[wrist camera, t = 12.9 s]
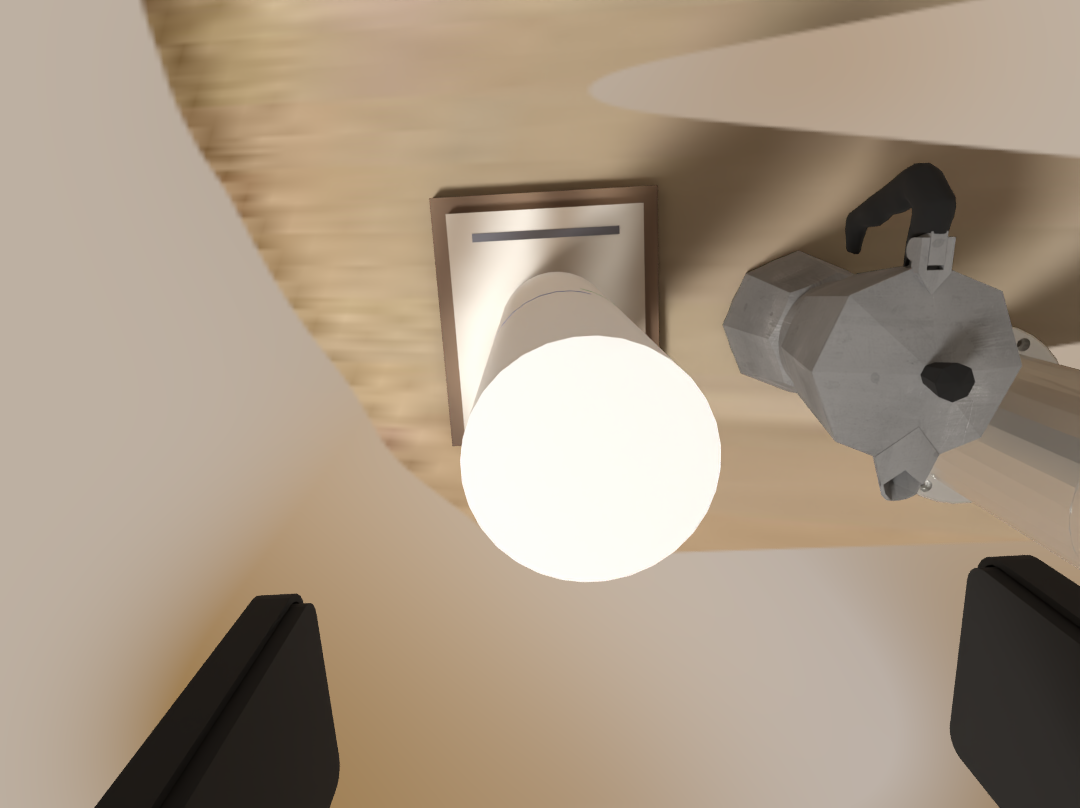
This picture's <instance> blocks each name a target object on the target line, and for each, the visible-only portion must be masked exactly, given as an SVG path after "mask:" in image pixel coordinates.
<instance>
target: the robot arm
mask: <svg viewBox="0 0 1080 808" xmlns="http://www.w3.org/2000/svg"><path fill="white" fill-rule="evenodd" d="M1012 329H1013V333H1014V337H1015V340H1016V344H1017V348H1018V352H1019V356H1020V359H1021V363H1022V367H1021V369H1020V370H1019V372H1018V374H1017V376H1016V377H1015V379H1014V381H1013V383H1012V384H1011V386H1010V388H1009V389H1008V391H1007V393H1006V395H1005V396H1004V398H1003V400H1002V402H1001V403H1000V405H999V407H998V409H997V410H996V412H995V414H994V416H993V417H992V419H991V421H990V423H989V424H988V426H987V428H986V430H985V431H984V433H983V435H982V437H981V438H979V439H976V440H974V441H971V442H969V443H966V444H964V445H961V446H959V447H956V448H954V449H951V450H949V451H947V452H944V453H942V454H939V456H938V458H937V460H936V462H935V464H934V466H933V468H932V470H931V471H930V473H929V475H928V477H927V479H926V481H925V483H924V484H923V485H922V484H921V486H920V488H919V490H918V492H917V494H918V495H919V496H921V497H924V498H927V499H930V500H934V501H937V502H943V503H951V504H959V503H975V504H976V505H978V506H979V507H981V508H983V509H984V510H986V511H987V512H989V513H991V514H992V515H994V516H995V517H997V518H999V519H1000V520H1002V521H1003V522H1005V523H1007V524H1008V525H1010V526H1011V527H1013V528H1015V529H1016V530H1018V531H1019V532H1021V533H1022V534H1024V535H1026V536H1027V537H1029V538H1030V539H1032V540H1034V541H1035V542H1037V543H1038V544H1040V545H1042V546H1043V547H1045V548H1046V549H1048V550H1050V551H1051V552H1053V553H1054V554H1056V555H1057V556H1059V557H1061V558H1062V559H1064V560H1065V561H1067V562H1069V563H1070V564H1072V565H1073V566H1076V567H1077V568H1078V569H1080V370H1078V369H1074V368H1071V367H1066V366H1063V365H1059V364H1058V361H1057V359H1056V358H1055V357H1054V355H1053V354H1052V353H1051V351H1050V350H1049V349H1048V347H1047V346H1046V345H1044V344H1043V343H1042V342H1041V341H1039V340H1038V339H1037V338H1036V337H1035V336H1033V335H1031V334H1029V333H1027V332H1025V331H1023V330H1021V329H1019V328H1015V327H1012ZM950 735H951V740H952V743H953V746H954V748H955V750H956V753H957V754H958V756H959V757H960V759H961V760H962V761H963V762H964V764H965V765H966V766H967V767H968V769H969V770H970V771H971V772H972V774H973V775H974V776H975V777H976V779H977V780H978V781H979V782H980V784H981V785H982V786H983V788H984V789H985V790H986V791H987V792H988V794H989V795H990V796H991V797H992V799H993V800H994V801H995V802H996V804H997V805H998V806H999V807H1000V808H1080V586H1079V585H1077V584H1076V583H1074V582H1073V581H1071V580H1070V579H1068V578H1067V577H1065V576H1063V575H1062V574H1060V573H1059V572H1057V571H1056V570H1054V569H1053V568H1051V567H1050V566H1048V565H1047V564H1045V563H1044V562H1042V561H1041V560H1039V559H1038V558H1036V557H1033V556H1031V555H1019V556H999V557H986V558H984V559H983V560H981V562H980V563H979V565H978V568H974V569H972V570H971V571H970V573H969V575H968V579H967V586H966V595H965V603H964V611H963V619H962V628H961V637H960V646H959V653H958V662H957V671H956V679H955V687H954V696H953V704H952V713H951V721H950ZM339 764H340V762H339V753H338V747H337V741H336V734H335V728H334V722H333V716H332V709H331V703H330V696H329V690H328V684H327V677H326V671H325V665H324V659H323V653H322V646H321V640H320V633H319V627H318V621H317V614H316V610H315V608H314V605H313V604H311V603H303V600H302V598H301V596H300V595H298V594H280V595H261V596H256V597H255V598H254V599H253V600H252V601H251V602H250V604H249V605H248V606H247V608H246V609H245V610H244V612H243V613H242V614H241V616H240V617H239V618H238V620H237V621H236V622H235V623H234V625H233V626H232V628H231V629H230V630H229V631H228V633H227V634H226V635H225V637H224V638H223V639H222V641H221V642H220V643H219V644H218V646H217V647H216V648H215V650H214V651H213V652H212V654H211V655H210V656H209V658H208V659H207V660H206V662H205V663H204V664H203V666H202V667H201V668H200V670H199V671H198V672H197V673H196V675H195V676H194V677H193V679H192V680H191V681H190V683H189V684H188V685H187V687H186V688H185V689H184V691H183V692H182V693H181V694H180V696H179V697H178V698H177V700H176V701H175V702H174V704H173V705H172V706H171V708H170V709H169V710H168V712H167V713H166V715H165V716H164V717H163V718H162V719H161V721H160V722H159V724H158V725H157V726H156V727H155V729H154V730H153V731H152V733H151V734H150V735H149V737H148V738H147V739H146V741H145V742H144V743H143V745H142V746H141V747H140V748H139V750H138V751H137V752H136V754H135V755H134V756H133V758H132V759H131V760H130V762H129V763H128V764H127V765H126V767H125V768H124V769H123V771H122V772H121V774H120V775H119V776H118V777H117V779H116V780H115V781H114V783H113V784H112V785H111V787H110V788H109V789H108V790H107V792H106V793H105V794H104V796H103V797H102V799H101V800H100V801H99V802H98V804H97V805H96V806H95V808H330V805H331V802H332V799H333V796H334V794H335V791H336V787H337V784H338V779H339V767H340V765H339Z"/></svg>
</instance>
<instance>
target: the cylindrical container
mask: <svg viewBox="0 0 1080 808" xmlns="http://www.w3.org/2000/svg"><path fill="white" fill-rule="evenodd" d="M460 464H461V475H462V484H463V488H464V491H465V494H466V498H467V501H468V504H469V507H470V509H471V511H472V513H473V514H474V516H475V518H476V520H477V522H478V524H479V525H480V527H481V529H482V530H483V531H484V532H485V533H486V534H487V536H488V537H489V538H490V539H491V540H492V541H493V543H494V544H495V545H496V546H497V547H498V548H499V549H501V550H502V551H503V552H504V553H506V554H507V555H508V556H510V557H511V558H512V559H513V560H515V561H516V562H518V563H520V564H522V565H524V566H526V567H528V568H530V569H532V570H534V571H536V572H538V573H540V574H544V575H547V576H551V577H554V578H558V579H561V580H570V581H579V582H594V581H608V580H613V579H617V578H621V577H625V576H630V575H632V574H635V573H637V572H639V571H642V570H644V569H646V568H649V567H651V566H653V565H655V564H656V563H658V562H659V561H661V560H662V559H664V558H665V557H667V556H668V555H670V554H671V553H673V552H674V551H675V550H677V549H678V548H679V547H680V546H681V545H682V544H683V543H684V542H685V541H686V540H687V539H688V538H689V537H690V536H691V535H692V534H693V532H694V531H695V529H696V528H697V526H698V525H699V523H700V522H701V520H702V519H703V517H704V516H705V514H706V513H707V511H708V508H709V506H710V504H711V501H712V499H713V496H714V494H715V492H716V488H717V483H718V478H719V474H720V469H721V444H720V439H719V434H718V429H717V423H716V420H715V418H714V416H713V413H712V411H711V409H710V406H709V404H708V402H707V399H706V398H705V396H704V395H703V394H702V392H701V391H700V389H699V388H698V387H697V385H696V384H695V382H694V381H693V380H692V378H691V377H690V376H689V375H688V374H687V373H686V372H685V371H684V370H683V369H681V368H680V367H679V366H678V365H677V364H676V363H675V362H674V361H673V360H672V359H671V358H670V357H669V356H668V355H667V354H666V353H665V352H664V351H663V350H662V349H661V348H659V347H658V346H657V345H656V344H655V343H654V342H653V341H652V340H651V339H650V338H649V337H648V336H647V335H646V334H645V333H644V332H643V331H642V330H641V329H640V328H638V327H637V326H636V325H635V324H634V323H633V322H632V321H631V320H630V319H629V318H628V317H627V316H626V315H625V314H624V313H623V312H622V311H621V310H620V309H619V308H618V307H617V306H615V305H614V304H613V303H612V302H611V301H610V300H609V299H608V298H607V297H606V296H605V295H604V294H603V293H602V292H601V291H599V290H598V289H597V288H596V287H595V286H594V285H593V284H592V283H591V282H589V281H587V280H586V279H584V278H582V277H580V276H577V275H574V274H571V273H566V272H548V273H544V274H540V275H537V276H535V277H533V278H531V279H529V280H527V281H526V282H524V283H523V284H522V285H520V286H519V287H518V288H517V289H516V290H515V291H514V293H513V294H512V295H511V296H510V298H509V300H508V301H507V303H506V305H505V307H504V310H503V314H502V317H501V320H500V323H499V326H498V329H497V332H496V335H495V338H494V342H493V345H492V348H491V351H490V354H489V357H488V360H487V363H486V366H485V369H484V372H483V376H482V379H481V382H480V385H479V388H478V391H477V394H476V397H475V400H474V404H473V407H472V410H471V413H470V416H469V419H468V423H467V426H466V429H465V432H464V435H463V439H462V449H461V458H460Z"/></svg>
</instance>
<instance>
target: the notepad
mask: <svg viewBox="0 0 1080 808" xmlns="http://www.w3.org/2000/svg"><path fill="white" fill-rule="evenodd" d="M429 201H430V212H431V222H432V233H433V244H434V254H435V265H436V275H437V286H438V297H439V307H440V318H441V329H442V339H443V350H444V361H445V371H446V382H447V393H448V403H449V414H450V425H451V435H452V446H462V439H463V435H464V432H465V429H466V426H467V423H468V419H469V416H470V413H471V410H472V407H473V404H474V400H475V397H476V394H477V391H478V388H479V385H480V382H481V379H482V376H483V372H484V369H485V366H486V363H487V360H488V357H489V354H490V351H491V348H492V345H493V342H494V338H495V335H496V332H497V329H498V326H499V323H500V320H501V317H502V314H503V310H504V307H505V305H506V303H507V301H508V300H509V298H510V296H511V295H512V294H513V293H514V291H515V290H516V289H517V288H518V287H519V286H520V285H522V284H523V283H524V282H526V281H527V280H529V279H531V278H533V277H535V276H537V275H540V274H544V273H548V272H566V273H571V274H574V275H577V276H580V277H582V278H584V279H586V280H587V281H589V282H591V283H592V284H593V285H594V286H595V287H596V288H597V289H598V290H599V291H601V292H602V293H603V294H604V295H605V296H606V297H607V298H608V299H609V300H610V301H611V302H612V303H613V304H614V305H615V306H617V307H618V308H619V309H620V310H621V311H622V312H623V313H624V314H625V315H626V316H627V317H628V318H629V319H630V320H631V321H632V322H633V323H634V324H635V325H636V326H637V327H638V328H640V329H641V330H642V331H643V332H644V333H645V334H646V335H647V336H648V337H649V338H650V339H651V340H652V341H653V342H654V343H655V344H656V345H657V346H658V347H659V287H658V189H657V185H653V186H635V187H618V188H601V189H583V190H566V191H549V192H531V193H514V194H497V195H479V196H462V197H445V198H429Z"/></svg>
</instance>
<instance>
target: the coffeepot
mask: <svg viewBox="0 0 1080 808" xmlns="http://www.w3.org/2000/svg"><path fill="white" fill-rule="evenodd" d="M910 208H912V218H911V224H910V228H909V233H908V237H907V241H906V249H905V257H904V264H903V266H901V267H894V268H888V269H882V270H876V271H870V272H864V273H858V274H855V275H854V274H853V273H851V272H849V271H847V270H845V269H842V268H840V267H838V266H835V265H833V264H830V263H828V262H825V261H823V260H821V259H818V258H816V257H813V256H811V255H808V254H806V253H803V252H801V251H799V250H798V251H796V252H793V253H791V254H789V255H787V256H784V257H782V258H779V259H776V260H774V261H771V262H769V263H767V264H766V265H764V266H762V267H759V268H757V269H755V270H753V271H750V272H748V273H746V274H745V276H744V279H743V281H742V283H741V285H740V287H739V289H738V291H737V293H736V294H735V296H734V298H733V300H732V303H731V306H730V309H729V312H728V314H727V316H726V319H725V321H724V323H723V327H724V330H725V333H726V335H727V338H728V341H729V345H730V348H731V350H732V352H733V354H734V356H735V359H736V362H737V364H738V367H739V370H740V372H741V374H744V375H747V376H749V377H752V378H754V379H757V380H760V381H762V382H765V383H767V384H770V385H773V386H775V387H778V388H780V389H783V390H786V391H788V392H793V393H798V395H799V396H800V398H801V399H802V400H803V401H804V403H805V404H806V405H807V406H808V408H809V409H810V410H811V411H812V413H813V414H814V415H815V416H816V418H817V419H818V420H819V422H820V423H821V424H822V425H823V427H824V428H825V429H826V430H827V432H828V433H829V434H830V435H831V437H832V438H833V439H834V440H835V441H836V442H838V443H840V444H843V445H846V446H848V447H851V448H853V449H856V450H859V451H861V452H864V453H866V454H869V455H872V456H873V459H874V463H875V468H876V473H877V477H878V482H879V487H880V491H881V495H882V496H883V497H884V498H885V499H886V500H891V501H896V500H903V499H907V498H910V497H912V496H914V495H915V494H917V492H918V490H919V488H920V486H921V484H922V485H923V484H924V483H925V481H926V479H927V477H928V475H929V473H930V471H931V470H932V468H933V466H934V464H935V462H936V460H937V458H938V456H939V454H942V453H944V452H947V451H949V450H951V449H954V448H956V447H959V446H961V445H964V444H966V443H969V442H971V441H974V440H976V439H979V438H981V437H982V435H983V433H984V431H985V430H986V428H987V426H988V424H989V423H990V421H991V419H992V417H993V416H994V414H995V412H996V410H997V409H998V407H999V405H1000V403H1001V402H1002V400H1003V398H1004V396H1005V395H1006V393H1007V391H1008V389H1009V388H1010V386H1011V384H1012V383H1013V381H1014V379H1015V377H1016V376H1017V374H1018V372H1019V370H1020V369H1021V367H1022V363H1021V359H1020V356H1019V352H1018V348H1017V344H1016V340H1015V337H1014V333H1013V329H1012V325H1011V321H1010V318H1009V314H1008V310H1007V306H1006V303H1005V299H1004V295H1003V291H1001V290H998V289H996V288H993V287H991V286H989V285H986V284H984V283H981V282H979V281H977V280H974V279H972V278H969V277H967V276H965V275H962V274H960V273H957V272H955V271H953V270H952V264H953V256H954V248H955V240H956V237H948V232H949V229H950V226H951V222H952V220H953V218H954V214H955V209H956V198H955V195H954V193H953V192H952V190H951V188H950V186H949V184H948V182H947V180H946V178H945V176H944V174H943V173H942V171H941V170H939V169H938V168H937V167H935V166H934V165H932V164H930V163H916V164H913V165H912V166H910V167H908V168H907V169H905V170H904V171H902V172H901V173H900V174H899V175H897V176H896V177H895V178H894V179H893V180H892V181H891V182H889V183H888V184H887V185H885V186H884V187H883V188H882V189H880V190H879V191H878V192H876V193H875V194H874V195H872V196H871V197H869V198H868V199H867V200H866V201H865V202H863V203H862V204H861V205H860V206H858V207H857V208H856V209H855V210H853V211H852V212H851V213H850V214H849V215H848V217H847V219H846V227H845V233H846V249H847V251H848V252H850V253H853V254H859V252H860V251H861V247H862V243H863V239H864V236H865V233H866V230H867V227H875V226H880V225H881V224H883V223H884V222H886V221H887V220H888V219H889V218H890V217H891V216H892V215H894V214H898V213H902V212H905V211H907V210H909V209H910Z"/></svg>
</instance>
